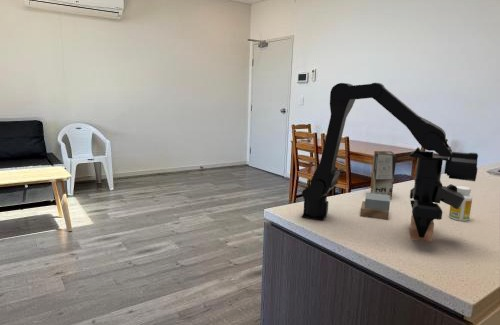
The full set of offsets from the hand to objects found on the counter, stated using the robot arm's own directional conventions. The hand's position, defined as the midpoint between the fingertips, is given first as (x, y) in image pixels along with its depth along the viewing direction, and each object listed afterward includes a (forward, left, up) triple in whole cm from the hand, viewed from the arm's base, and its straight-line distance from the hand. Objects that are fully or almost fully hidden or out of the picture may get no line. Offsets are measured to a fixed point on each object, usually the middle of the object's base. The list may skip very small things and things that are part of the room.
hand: (420, 233), depth 94 cm
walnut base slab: (-12, +14, -2) cm, 19 cm away
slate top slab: (-12, +14, +2) cm, 18 cm away
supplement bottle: (+12, +21, -1) cm, 24 cm away
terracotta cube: (0, 0, -1) cm, 1 cm away
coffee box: (-11, +36, -1) cm, 38 cm away
